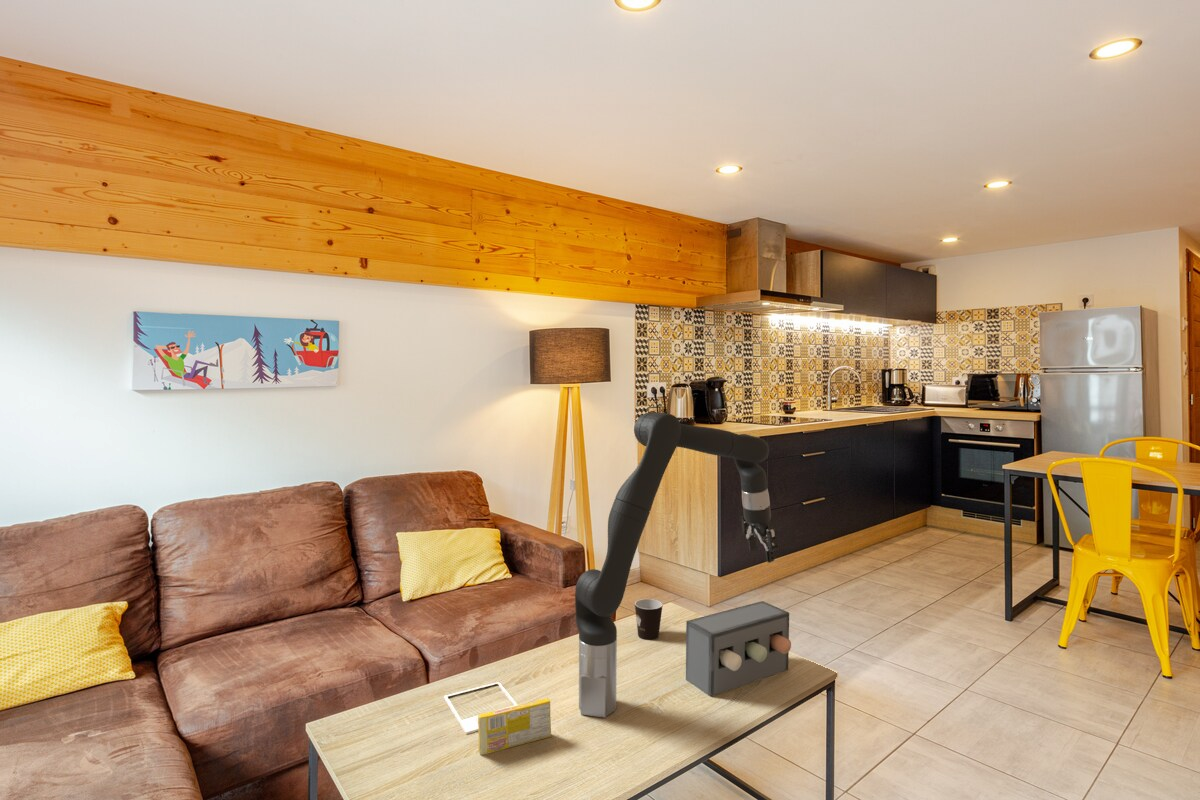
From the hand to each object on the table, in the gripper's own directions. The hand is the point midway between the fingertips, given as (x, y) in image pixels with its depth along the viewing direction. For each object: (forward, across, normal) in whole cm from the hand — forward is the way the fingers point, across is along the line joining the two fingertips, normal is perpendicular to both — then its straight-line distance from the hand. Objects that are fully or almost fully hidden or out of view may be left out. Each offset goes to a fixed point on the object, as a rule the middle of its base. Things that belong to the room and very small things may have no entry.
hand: (761, 555), depth 180 cm
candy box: (+11, +20, -80) cm, 84 cm away
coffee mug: (+26, -21, -30) cm, 45 cm away
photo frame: (+12, +3, -85) cm, 86 cm away
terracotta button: (+20, +13, -7) cm, 25 cm away
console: (+25, +11, -18) cm, 33 cm away
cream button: (+16, +17, -24) cm, 34 cm away
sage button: (+18, +15, -16) cm, 28 cm away
